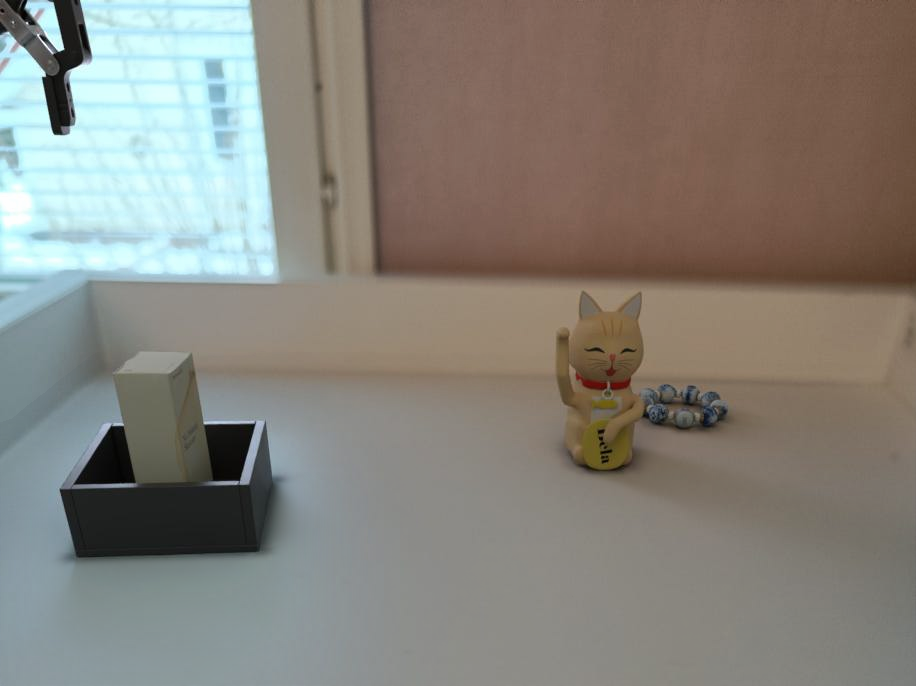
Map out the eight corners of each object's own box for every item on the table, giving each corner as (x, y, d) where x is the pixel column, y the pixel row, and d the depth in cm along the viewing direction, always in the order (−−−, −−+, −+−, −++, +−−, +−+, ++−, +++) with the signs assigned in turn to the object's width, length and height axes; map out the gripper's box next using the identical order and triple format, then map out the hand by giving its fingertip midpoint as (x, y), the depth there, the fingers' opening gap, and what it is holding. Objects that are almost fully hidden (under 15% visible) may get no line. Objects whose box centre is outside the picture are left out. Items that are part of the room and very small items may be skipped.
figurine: (553, 475, 84) (565, 307, 76) (543, 436, 92) (553, 281, 84) (645, 475, 84) (666, 308, 76) (627, 437, 92) (645, 282, 84)
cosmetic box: (196, 526, 72) (170, 374, 66) (141, 524, 72) (109, 373, 66) (217, 493, 78) (195, 350, 71) (165, 492, 78) (138, 348, 71)
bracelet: (621, 419, 97) (623, 401, 95) (650, 393, 104) (652, 376, 103) (712, 436, 93) (715, 417, 92) (735, 408, 100) (738, 390, 99)
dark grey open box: (76, 557, 69) (58, 489, 66) (116, 484, 80) (103, 423, 77) (258, 551, 70) (249, 484, 67) (272, 480, 82) (265, 420, 79)
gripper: (70, -137, 62) (113, 132, 71) (-149, -151, 61) (-77, 125, 70) (35, -157, 56) (87, 141, 65) (-210, -173, 55) (-123, 133, 64)
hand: (2, 132), depth 67 cm, fingers open, 8 cm apart
